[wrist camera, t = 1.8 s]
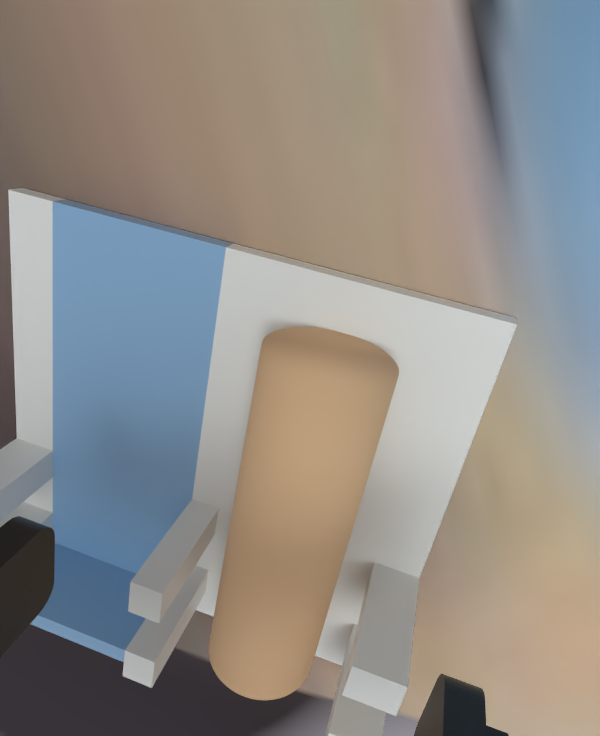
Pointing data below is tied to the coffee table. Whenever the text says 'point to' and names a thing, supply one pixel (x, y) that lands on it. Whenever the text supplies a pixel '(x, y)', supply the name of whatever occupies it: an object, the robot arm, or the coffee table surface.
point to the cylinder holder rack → (216, 432)
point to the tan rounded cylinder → (296, 503)
